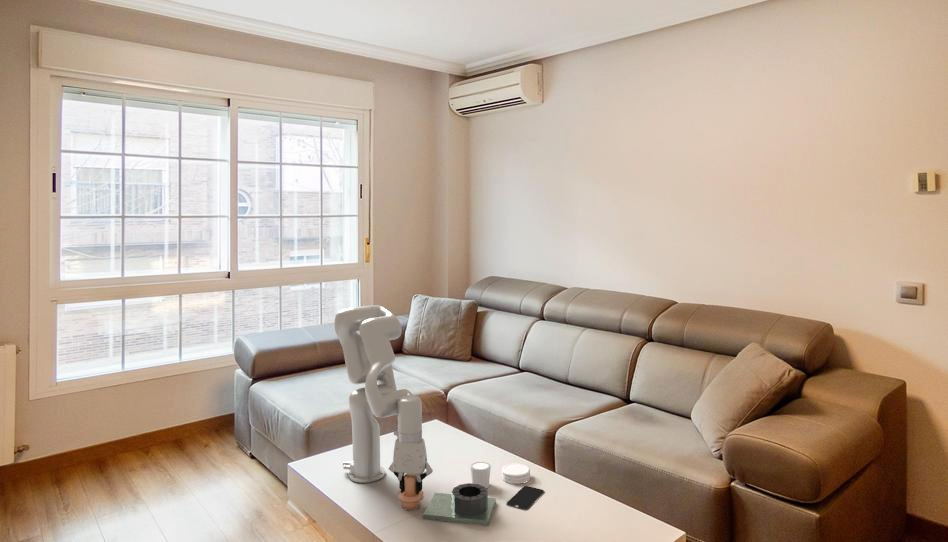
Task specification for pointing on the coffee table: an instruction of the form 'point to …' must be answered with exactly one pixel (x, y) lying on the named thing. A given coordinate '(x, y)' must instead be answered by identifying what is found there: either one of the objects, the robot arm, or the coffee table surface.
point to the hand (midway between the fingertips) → (410, 491)
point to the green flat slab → (462, 505)
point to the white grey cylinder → (480, 473)
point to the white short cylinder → (515, 473)
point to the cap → (410, 493)
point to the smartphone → (525, 498)
